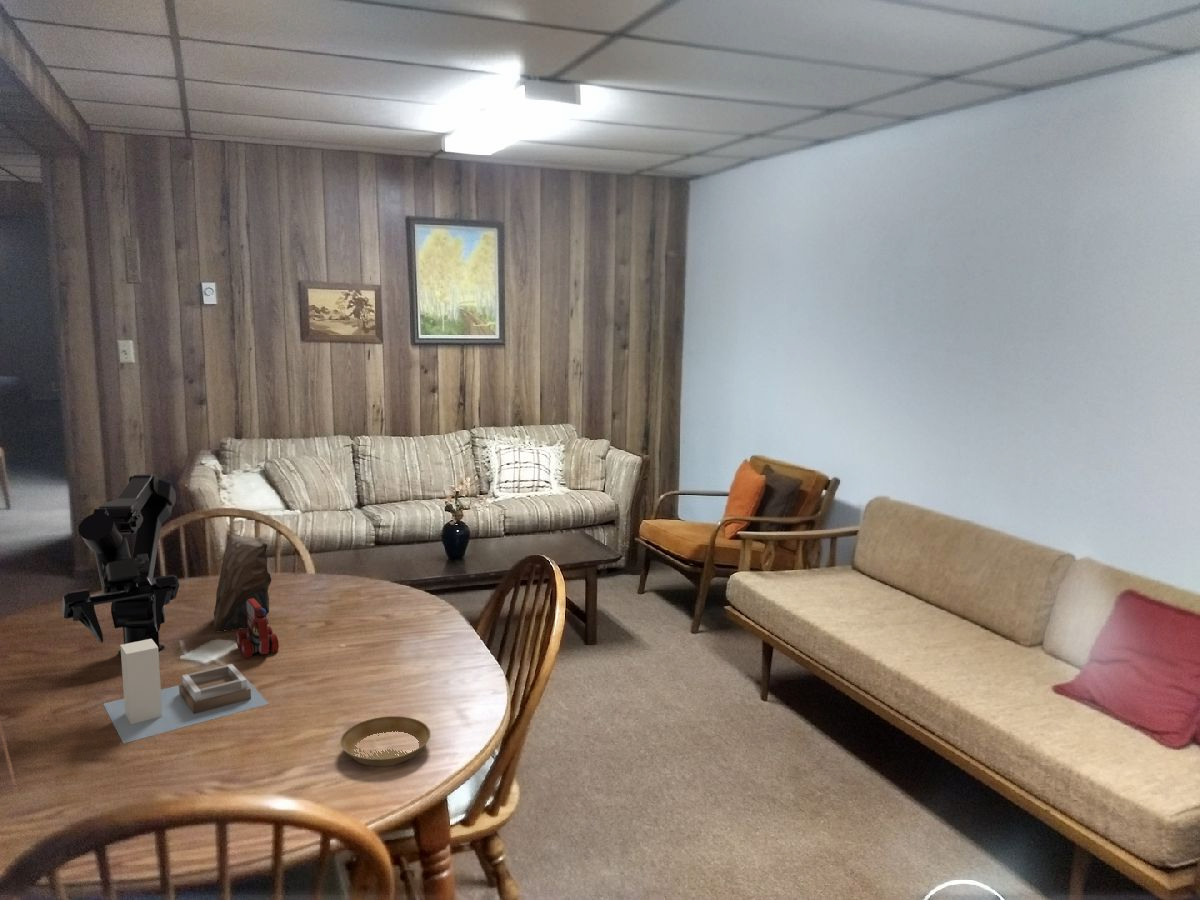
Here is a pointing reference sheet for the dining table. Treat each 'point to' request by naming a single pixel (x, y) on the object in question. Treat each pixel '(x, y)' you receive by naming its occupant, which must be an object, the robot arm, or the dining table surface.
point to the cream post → (141, 680)
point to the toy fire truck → (256, 632)
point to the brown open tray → (214, 688)
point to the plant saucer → (384, 725)
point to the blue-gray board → (173, 714)
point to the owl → (241, 582)
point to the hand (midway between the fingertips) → (130, 636)
